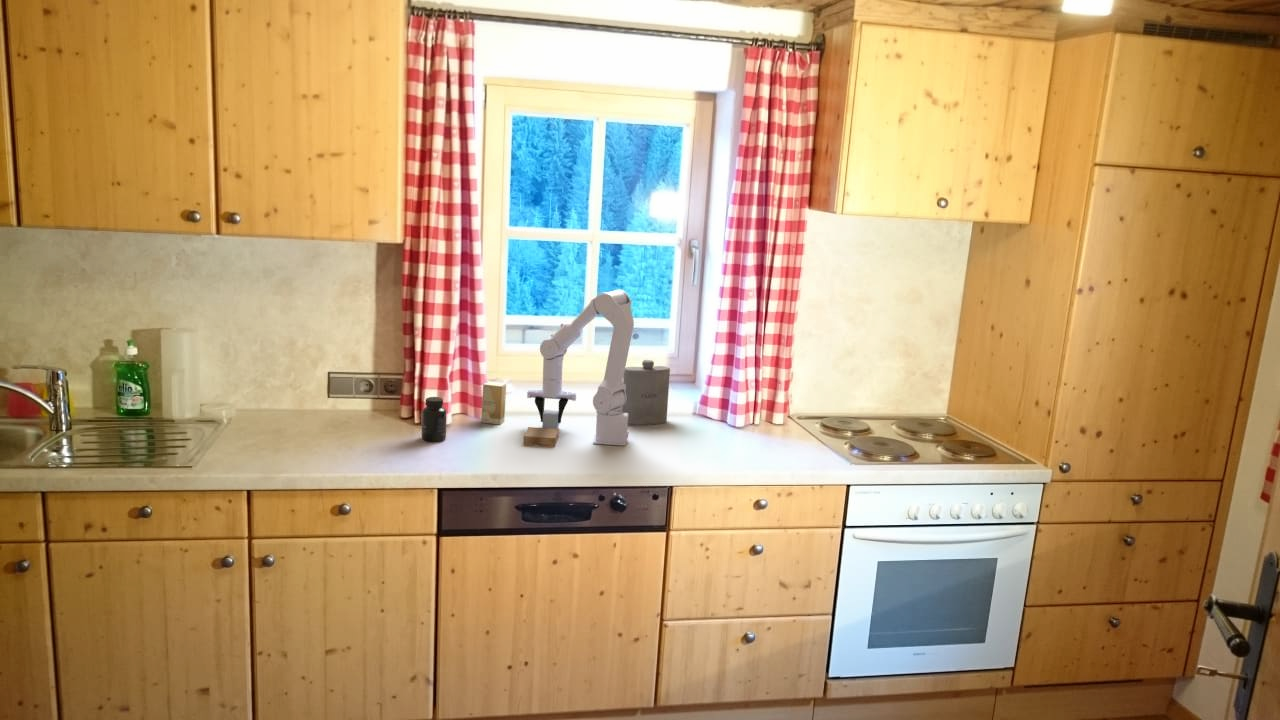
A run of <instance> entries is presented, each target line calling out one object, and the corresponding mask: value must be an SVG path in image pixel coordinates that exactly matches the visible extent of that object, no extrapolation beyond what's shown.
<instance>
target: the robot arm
mask: <svg viewBox="0 0 1280 720" xmlns="http://www.w3.org/2000/svg"><path fill="white" fill-rule="evenodd" d="M631 306H632V299H631V298H630V296H629V295H628V293H627V292H625V291H624V290H623V289H615V290H613V291H608V292H601V293H599V294H597V295H596V296H595V297H594V298H593V299H590V302H589V303H588V304H587V305H586V307H585V308H584V309H583V310H582V311H581V312H580V313H579V314H578V315H577V316H576V317H575V319H573V320H572V321H566V322H562V323H561V324H560V325H559V326H560V328H559V329H558V330H557V331H556V332H554V333H552V334H551V335H550V338H547V339H546V338H545V339H544V340H543V341H542V343H540V346H539V352H540V354H541V356H542V359H543V361H542V363H543V365H542V367H543V368H542V389H536V390H535V389H533V390H531V389H529V390H527V394H526V395H527V397H526V398H527V399H531V398H534V403H535V406H536V407H537V409H538V413H539V417H540V422H541V423H543V412H544V410H545V400H546V399H550V400H551V399H553V400H558V411H559V415H558V423H559V424H561V422H562V417H563V414H564V410H565V407H566V406H567V404H568V402H569V400H570V401H571V402H572V401H573V402H576V401H577V392H570V391H564V390H562V386H563V361H564V357H565V355H566V354H567V351H568V348H569V347H570V346H572V345H573V344H574V343H575V342H577V340H578V339H579V338H580V337H581V333H582V332H581V330H582V329H584V328H585V327H586V326H587V325H588V324H589V323H590V322H592V320H594V319H595V318H596V317H597V316H598V315H601V316H602V317H603V318H605V319H606V320H607V321H608V322H609V323H610V324H611V326H612V327H613V330H612V335H611V341H610V345H609V346H610V347H609V352H608V356H607V361H606V367H605V371H604V372H605V373H604V377H603V380H602V381H601V382H600V384H599V385H598V387H597V391H596V393H595V394H594V396H593V397H592V405H593V407H594V410H595V411H596V422H595V423H596V424H595V426H596V427H595V434H594V439H593V441H592V444H595V445H609V446H611V445H612V446H627V442H628V441H627V440H628V439H629V431H628V430H629V429H628V427H629V425H628V413H624V412H622V406H623V405H624V404H625V403H626V400H627V397H626V391H625V390H626V385H625V384H624V383H623V377H624V372H625V368H626V367H627V366H626V365H627V361H628V355H629V350H630V345H631V341H632V340H631V339H632V335H633V331H634V325H635V321H634V317H633V312H632V307H631Z"/></svg>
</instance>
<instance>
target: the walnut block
mask: <svg viewBox="0 0 1280 720" xmlns="http://www.w3.org/2000/svg"><path fill="white" fill-rule="evenodd" d="M559 433H560V429H559V428H558V429H550V428H542V427H533V426H531V427H530V426H528V427H527V429H526V430H525V433H524V435H523V444H524V445H523V444H522V445H523V446H534V445H538V446H540V447H550V446H553V448H554V447H556V445H557V443H558V440H559V437H560V436H559V435H560V434H559ZM538 446H537V447H538Z"/></svg>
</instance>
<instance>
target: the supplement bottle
mask: <svg viewBox="0 0 1280 720" xmlns="http://www.w3.org/2000/svg"><path fill="white" fill-rule="evenodd" d="M443 406H444V399H443V398H442V397H441V396H430V397H426V398H425V407H424V408H423V409H422V410H421V440H422V441H423V442H426V443H430V442H431V443H432V444H435V443H436V442H437V443H442V442H444V441H445V440H446V438H447V410H446V408H445V407H443ZM434 442H435V443H434Z"/></svg>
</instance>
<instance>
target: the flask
mask: <svg viewBox="0 0 1280 720" xmlns="http://www.w3.org/2000/svg"><path fill="white" fill-rule="evenodd" d="M654 365H655V362H654V361H653V360H651V359H644V360H643V361H642V366H625V372H624V377H623V383H624V384H625V385H626V390H625V391H626V397H627V400H626V403H625V404H624V405H623V406H622V412H624V413H628V424H629V425H628V426H649V425H648V424H654V425H661V424H660V423H662V424H665V423H667V420H668V419H667V418H668V407H669V403H668V402H669V392H670V391H669V390H670V376H671V375H670V371H671V368H669V367H668V366H665V365H664V366H663V365H655V366H654Z"/></svg>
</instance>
